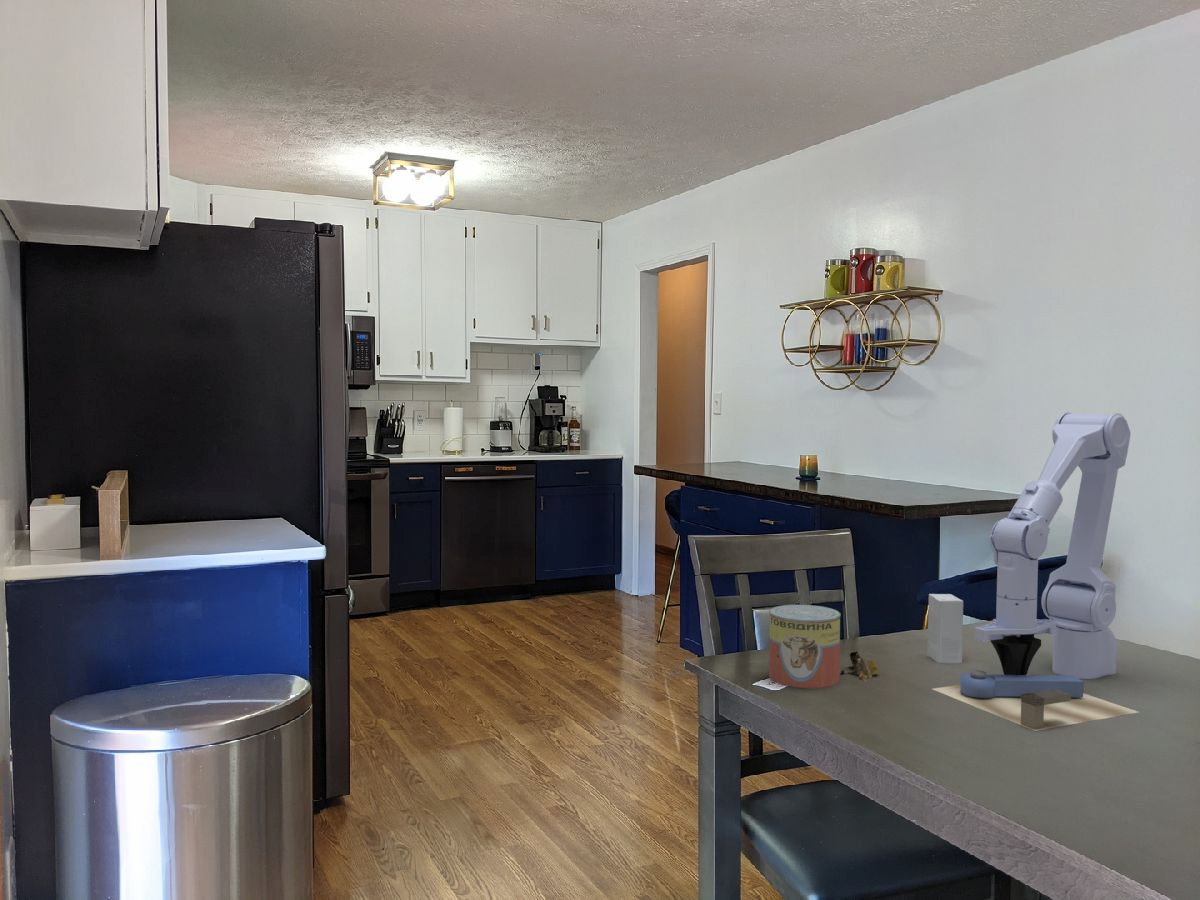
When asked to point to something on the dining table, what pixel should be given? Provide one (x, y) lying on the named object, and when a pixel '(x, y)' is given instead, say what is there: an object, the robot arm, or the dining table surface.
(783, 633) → the canned food
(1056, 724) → the board
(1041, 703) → the keeper
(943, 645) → the skincare box
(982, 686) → the link
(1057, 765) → the dining table surface
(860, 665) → the regulator
